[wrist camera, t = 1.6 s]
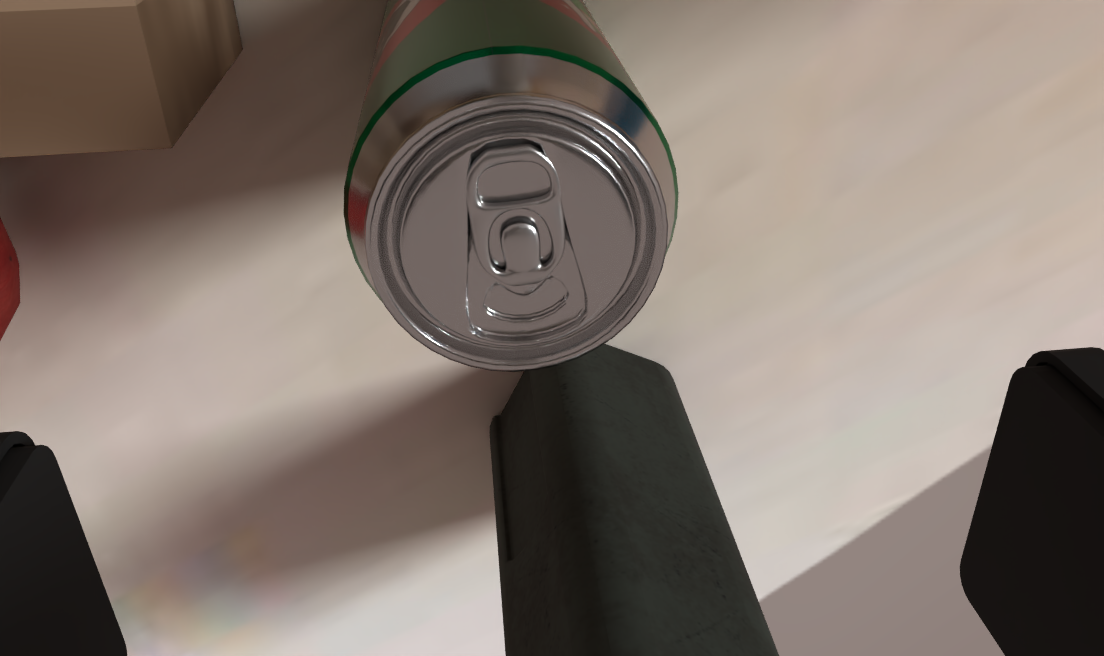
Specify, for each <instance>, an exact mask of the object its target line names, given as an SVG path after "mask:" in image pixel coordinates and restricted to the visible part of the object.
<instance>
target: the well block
mask: <svg viewBox="0 0 1104 656" xmlns="http://www.w3.org/2000/svg"><path fill="white" fill-rule="evenodd" d="M242 50H243V47H242V42H241V37H240V32H239V27H238V22H237V17H236V12H235V7H234V2H233V0H0V158H2V157H20V156H38V155H56V154H74V153H92V152H110V151H128V150H146V149H164V148H172V147H173V146H174V144H175V143H176V141H177V140H178V139H179V137H180V136H181V134H182V133H183V132H184V130H185V129H186V128H187V126H188V125H189V123H190V122H191V121H192V119H193V118H194V116H195V115H196V114H197V112H198V111H199V109H200V108H201V107H202V105H203V104H204V103H205V101H206V100H207V98H208V97H209V96H210V94H211V93H212V91H213V90H214V89H215V87H216V86H217V85H218V83H219V82H220V80H221V79H222V78H223V76H224V75H225V73H226V72H227V71H228V69H229V68H230V66H231V65H232V64H233V62H234V61H235V60H236V58H237V57H238V55H239V54H240V53H241V51H242Z"/></svg>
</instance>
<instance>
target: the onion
mask: <svg viewBox="0 0 1104 656" xmlns="http://www.w3.org/2000/svg"><path fill="white" fill-rule="evenodd" d="M19 304H20V278H19V262H18V258H17V255H16V251H15V249H14V247H13V245H12V242H11V240H10V238H9V236H8V233H7V231H6V229H5V227H4V225H3V222H2V220H1V218H0V340H1V339H2V337H3V335H4V333H5V331H6V329H7V327H8V325H9V323H10V321H11V319H12V317H13V315H14V314H15V312H16V310H17V308H18V306H19Z"/></svg>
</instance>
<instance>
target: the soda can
mask: <svg viewBox="0 0 1104 656" xmlns="http://www.w3.org/2000/svg"><path fill="white" fill-rule="evenodd" d="M677 209H678V185H677V176H676V168H675V165H674V161H673V158H672V154H671V151H670V148H669V144H668V142H667V140H666V138H665V136H664V134H663V132H662V130H661V128H660V126H659V124H658V122H657V120H656V119H655V117H654V116H653V114H652V112H651V111H650V109H649V107H648V106H647V104H646V103H645V101H644V99H643V98H642V96H641V95H640V93H639V91H638V90H637V88H636V86H635V85H634V83H633V82H632V80H631V78H630V77H629V75H628V74H627V72H626V70H625V69H624V67H623V66H622V64H621V62H620V61H619V59H618V57H617V56H616V54H615V53H614V51H613V49H612V48H611V46H610V45H609V43H608V41H607V40H606V38H605V36H604V35H603V33H602V32H601V30H600V28H599V27H598V25H597V24H596V22H595V20H594V19H593V17H592V16H591V14H590V12H589V11H588V9H587V7H586V6H585V4H584V3H583V1H582V0H389V1H388V4H387V6H386V10H385V14H384V18H383V23H382V27H381V31H380V35H379V39H378V44H377V48H376V52H375V56H374V60H373V65H372V69H371V73H370V77H369V81H368V86H367V90H366V94H365V98H364V102H363V107H362V111H361V115H360V119H359V123H358V128H357V132H356V136H355V140H354V144H353V149H352V153H351V157H350V161H349V166H348V171H347V176H346V181H345V186H344V219H345V225H346V232H347V238H348V241H349V244H350V247H351V250H352V253H353V256H354V259H355V261H356V263H357V265H358V267H359V269H360V271H361V273H362V274H363V276H364V278H365V280H366V282H367V283H368V284H369V286H370V287H371V288H372V290H373V291H374V292H375V294H376V295H377V296H378V298H379V299H380V300H381V301H382V302H383V303H384V305H385V307H386V308H387V309H388V311H389V312H390V313H391V315H392V316H393V317H394V319H395V320H396V321H397V323H398V324H399V325H400V326H401V327H403V328H404V329H405V330H406V331H407V332H408V333H409V334H410V335H411V336H412V337H413V338H414V339H416V340H417V341H419V342H420V343H421V344H423V345H424V346H426V347H427V348H429V349H430V350H432V351H434V352H436V353H438V354H440V355H442V356H444V357H446V358H448V359H450V360H453V361H455V362H458V363H461V364H464V365H467V366H470V367H475V368H481V369H486V370H491V371H507V372H518V371H532V370H539V369H544V368H549V367H553V366H558V365H560V364H563V363H566V362H569V361H572V360H575V359H578V358H580V357H582V356H584V355H586V354H587V353H589V352H591V351H593V350H595V349H597V348H599V347H600V346H602V345H603V344H604V343H606V342H607V341H609V340H610V339H612V338H613V337H615V336H616V335H617V334H618V333H619V332H620V331H621V330H622V329H623V328H624V327H626V326H627V325H628V324H629V323H630V322H631V321H632V319H633V318H634V317H635V316H636V315H637V313H638V312H639V311H640V310H641V308H642V307H643V306H644V304H645V303H646V301H647V299H648V298H649V296H650V294H651V293H652V291H653V289H654V288H655V285H656V283H657V280H658V278H659V275H660V273H661V270H662V268H663V263H664V259H665V256H666V253H667V251H668V248H669V246H670V243H671V241H672V237H673V233H674V228H675V224H676V219H677Z"/></svg>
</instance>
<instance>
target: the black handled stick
mask: <svg viewBox="0 0 1104 656" xmlns="http://www.w3.org/2000/svg"><path fill="white" fill-rule="evenodd" d="M490 446H491V459H492V473H493V487H494V501H495V514H496V528H497V542H498V556H499V569H500V583H501V597H502V611H503V624H504V638H505V652H506V656H779V654H778V652H777V649H776V647H775V644H774V641H773V639H772V636H771V633H770V631H769V628H768V625H767V623H766V620H765V618H764V615H763V613H762V610H761V607H760V605H759V602H758V599H757V597H756V594H755V591H754V589H753V586H752V584H751V581H750V578H749V576H748V573H747V571H746V568H745V565H744V563H743V560H742V557H741V555H740V552H739V550H738V547H737V544H736V542H735V539H734V537H733V534H732V531H731V529H730V526H729V523H728V521H727V518H726V516H725V513H724V510H723V508H722V505H721V503H720V500H719V497H718V495H717V492H716V490H715V487H714V484H713V482H712V479H711V476H710V474H709V471H708V469H707V466H706V463H705V461H704V458H703V456H702V453H701V450H700V448H699V445H698V442H697V440H696V437H695V435H694V432H693V429H692V427H691V424H690V422H689V419H688V416H687V414H686V411H685V408H684V406H683V403H682V401H681V398H680V395H679V393H678V390H677V388H676V385H675V382H674V380H673V378H672V376H671V374H670V372H669V371H668V370H667V369H666V368H665V367H664V366H662V365H660V364H658V363H656V362H654V361H651V360H648V359H646V358H643V357H640V356H637V355H634V354H632V353H629V352H626V351H623V350H620V349H618V348H615V347H612V346H609V345H606V344H603V345H602V346H600V347H599V348H597V349H595V350H593V351H591V352H589V353H587V354H586V355H584V356H582V357H580V358H578V359H575V360H572V361H569V362H566V363H563V364H560V365H558V366H553V367H549V368H544V369H539V370H532V371H524V373H523V375H522V377H521V379H520V381H519V383H518V384H517V386H516V388H515V390H514V392H513V394H512V395H511V397H510V399H509V401H508V403H507V405H506V407H505V408H504V410H503V412H502V414H501V415H500V416H494V417H493V419H492V422H491V425H490Z"/></svg>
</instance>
